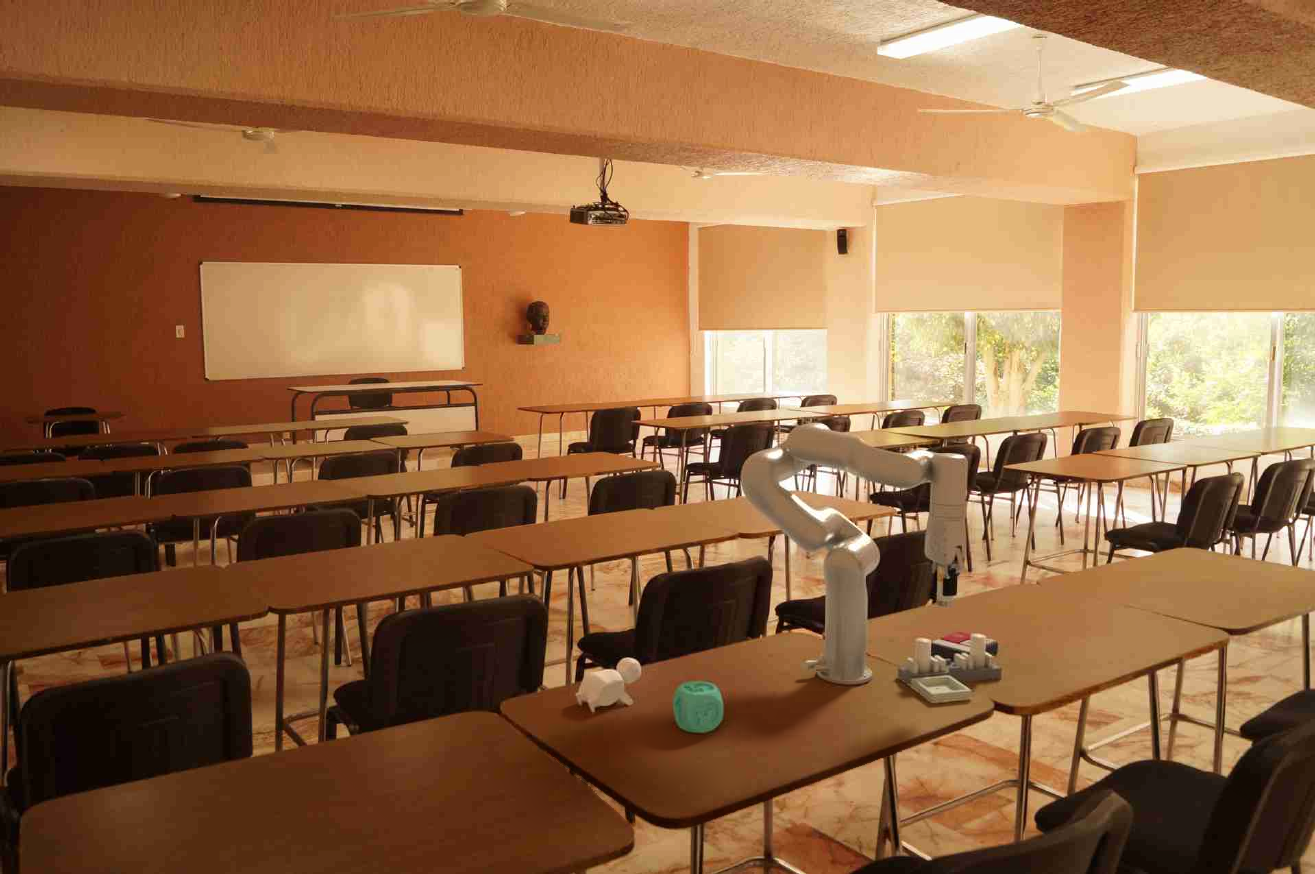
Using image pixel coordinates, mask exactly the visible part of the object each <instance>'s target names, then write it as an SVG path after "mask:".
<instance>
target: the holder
mask: <svg viewBox="0 0 1315 874" xmlns="http://www.w3.org/2000/svg"><path fill="white" fill-rule="evenodd" d="M970 634H971V637H970V656H969V655H968V654H966V653H961V655H960V654H954V662H951V659H943V658H941V657H940V656H938V655H936V656H934V658H933V657H932V656H931V642H932V640H931V639H928V638H925V637H924V638H923V637H918V638H916V639H915V651H914V656H915V657H914V659H913V658H912V657H906V666H898V667H897V669H898V670H897V678H898V677H899V678H901V679H902V680H904V681H905V682H907V683H908V684H910V685H911V679H913V678H924V677H935V676H946V675H949V676H951V677H952V678H954V679H955V680H957V681H958V682H960V683H968V682H976V681H975V680H980V681H987V680H986V679H991V680H993V679H992V678H1001V679H1002V671H1003V670H1002V667H1000V666H999V665H997V664H996V663H994V658H995V657H994V655H993V656H992V655H991V654H989V653H987V652H985V648H986V638H987V636H986V635H984V634H981V633H970ZM899 678H898V679H899ZM901 679H900V680H901ZM902 680H901V681H902ZM905 682H904V683H905Z"/></svg>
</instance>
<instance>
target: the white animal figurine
mask: <svg viewBox="0 0 1315 874" xmlns="http://www.w3.org/2000/svg"><path fill="white" fill-rule="evenodd" d="M641 675H642V667H641V664H640V662H639V661H638V660H637V659H635V658H632V657H624V658H622V659H620V660H619V661H618V663H617V665H616V669H611V668H610V669H609V668H608V669H607V668H606V669H602V670H597V671H594V672H590V673H588V674H586V675H584V677H583V678H582V681H581V684H580V686H579V688H578V692H576V693H575V694H574V695H575V696H576V699H577V702H578V705H580V706H582V705H583V702H585V703H587V705H588V707H589V708H590V711H591V712H592V713H593V714H594V713H595V712H596V710H595V709H596V708H598V707H601V706H602V707H608V706H610V705H613V704H614V703H615V702H617V701H621V702H623V703H624V704H625V705H627V706H632V705H633V704H634V701H633V699H632V698H631V696H629V694H628V693H627V692H626V691H625V684H632V683H634V682H635V681H636V680H638V679H639V678H640V677H641Z"/></svg>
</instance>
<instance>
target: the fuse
mask: <svg viewBox="0 0 1315 874" xmlns="http://www.w3.org/2000/svg"><path fill="white" fill-rule="evenodd" d="M952 563H954V561H953V562H952ZM952 568H954V567H950V570H951V569H952ZM943 578H945V566H944V565H941V564H939V563H938V570H937V591H936V605H937V606H940V607H943V608H945V607H946V608H948V607H953V605H954V596H943V594H942V593H943Z"/></svg>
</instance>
